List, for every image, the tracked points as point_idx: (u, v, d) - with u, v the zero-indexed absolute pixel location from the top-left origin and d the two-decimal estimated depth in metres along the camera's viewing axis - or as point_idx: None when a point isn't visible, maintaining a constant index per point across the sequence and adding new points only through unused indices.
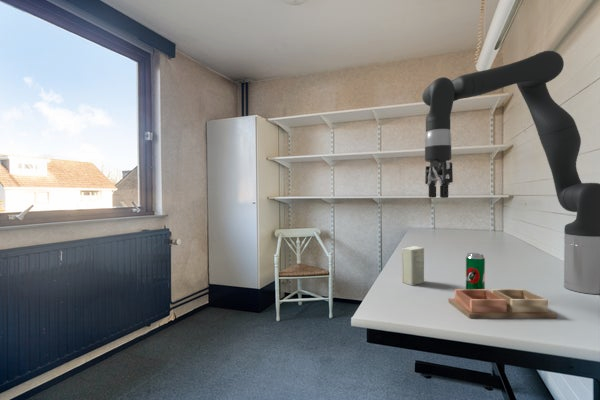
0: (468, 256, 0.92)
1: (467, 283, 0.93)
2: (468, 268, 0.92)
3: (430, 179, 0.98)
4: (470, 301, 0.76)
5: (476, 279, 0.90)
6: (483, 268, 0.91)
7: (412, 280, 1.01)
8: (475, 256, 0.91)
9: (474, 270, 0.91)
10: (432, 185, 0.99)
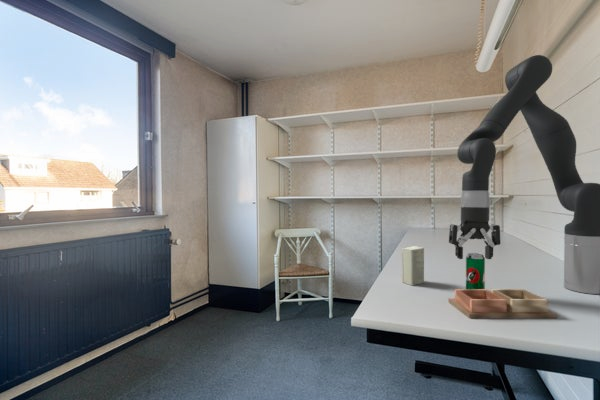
0: (468, 256, 0.92)
1: (467, 283, 0.93)
2: (468, 268, 0.92)
3: None
4: (470, 301, 0.76)
5: (476, 279, 0.90)
6: (483, 268, 0.91)
7: (412, 280, 1.01)
8: (475, 256, 0.91)
9: (474, 270, 0.91)
10: None
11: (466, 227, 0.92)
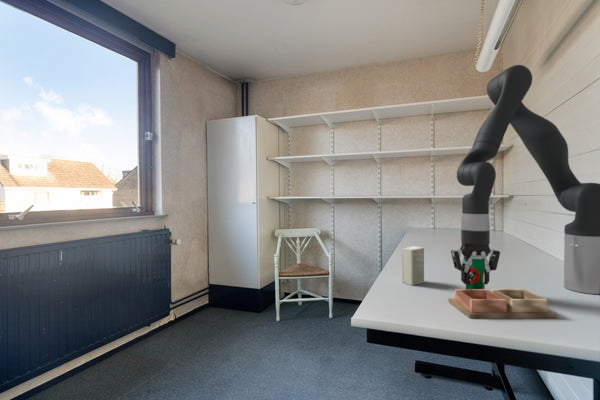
0: None
1: None
2: None
3: None
4: (470, 301, 0.76)
5: (476, 279, 0.90)
6: (483, 268, 0.91)
7: (412, 280, 1.01)
8: (475, 256, 0.91)
9: (474, 270, 0.91)
10: None
11: (467, 250, 0.92)
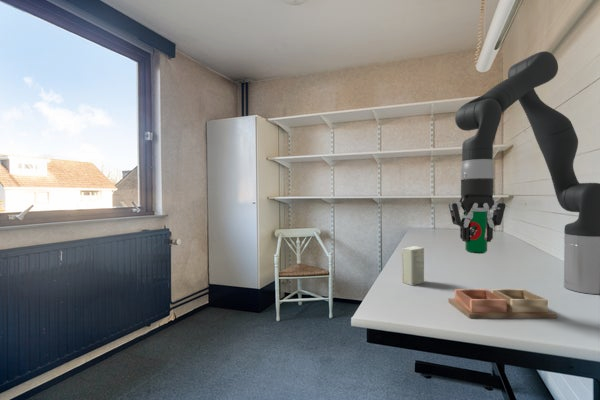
0: None
1: None
2: None
3: None
4: (470, 301, 0.76)
5: (477, 235, 0.79)
6: (485, 222, 0.79)
7: (412, 280, 1.01)
8: None
9: (475, 224, 0.79)
10: None
11: (467, 202, 0.80)
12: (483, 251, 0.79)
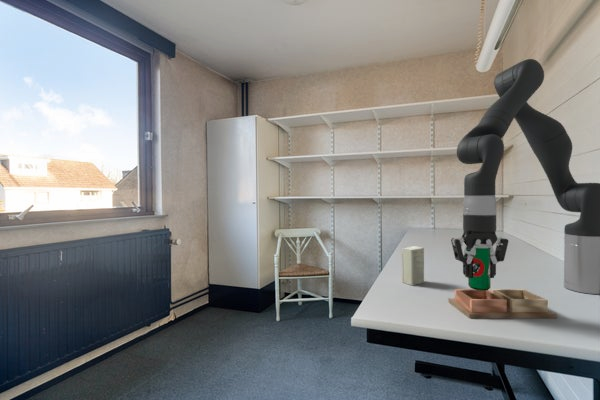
0: None
1: None
2: None
3: None
4: (470, 301, 0.76)
5: (480, 272, 0.78)
6: (489, 259, 0.78)
7: (412, 280, 1.01)
8: None
9: (478, 261, 0.78)
10: None
11: (470, 238, 0.79)
12: (486, 288, 0.78)
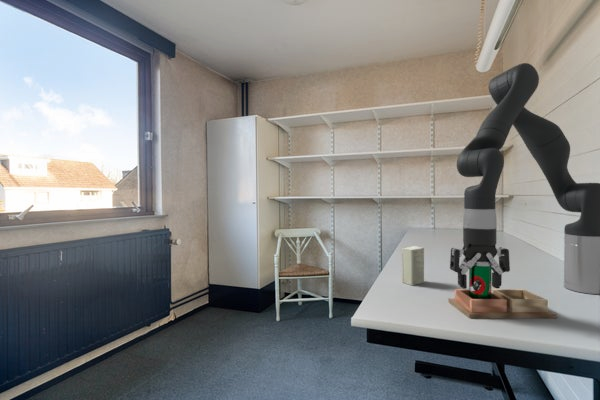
0: None
1: (470, 294, 0.80)
2: (471, 276, 0.79)
3: None
4: (470, 301, 0.76)
5: (481, 290, 0.78)
6: (489, 277, 0.78)
7: (412, 280, 1.01)
8: (480, 263, 0.78)
9: (479, 279, 0.78)
10: None
11: (470, 251, 0.79)
12: None
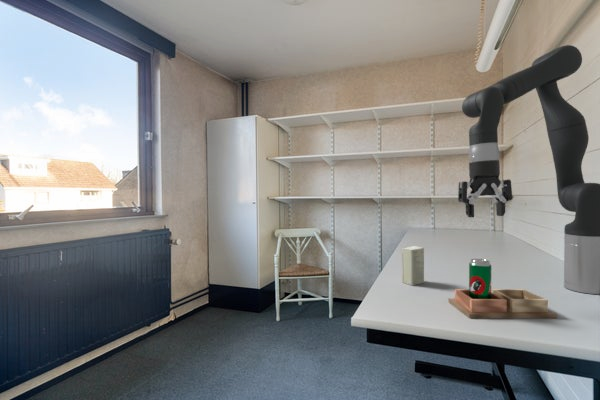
0: (472, 263, 0.80)
1: (470, 294, 0.80)
2: (471, 276, 0.79)
3: None
4: (470, 301, 0.76)
5: (481, 290, 0.78)
6: (489, 277, 0.78)
7: (412, 280, 1.01)
8: (480, 263, 0.78)
9: (479, 279, 0.78)
10: None
11: (476, 183, 0.87)
12: None
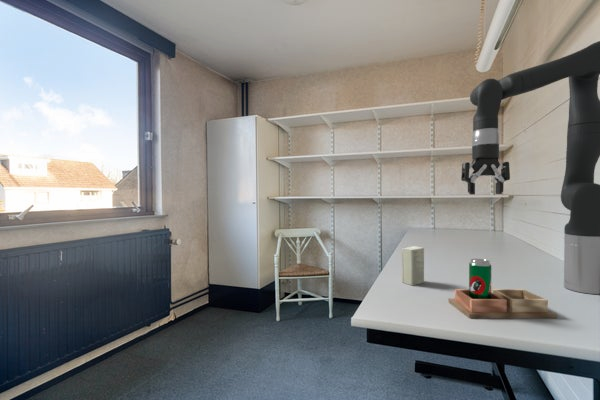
0: (472, 263, 0.80)
1: (470, 294, 0.80)
2: (471, 276, 0.79)
3: None
4: (470, 301, 0.76)
5: (481, 290, 0.78)
6: (489, 277, 0.78)
7: (412, 280, 1.01)
8: (480, 263, 0.78)
9: (479, 279, 0.78)
10: None
11: (478, 164, 0.98)
12: None
